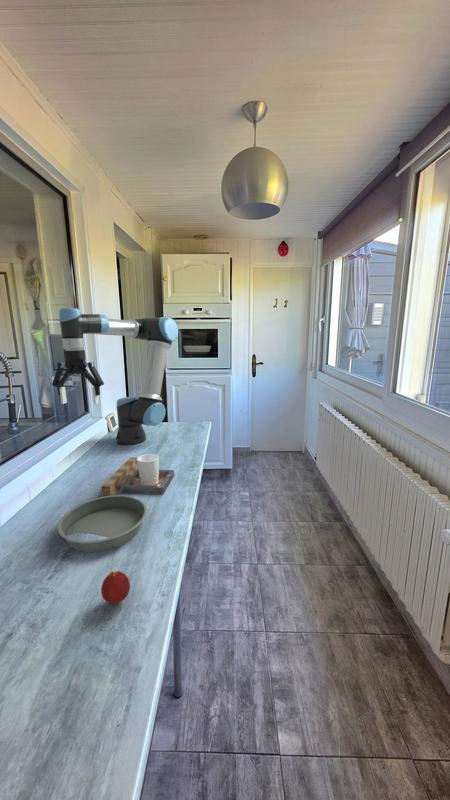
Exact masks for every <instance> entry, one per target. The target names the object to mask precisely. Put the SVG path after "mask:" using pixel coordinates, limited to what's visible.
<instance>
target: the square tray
mask: <svg viewBox="0 0 450 800" xmlns="http://www.w3.org/2000/svg"><path fill="white" fill-rule="evenodd" d="M174 477H175V469H159V482H158V483H157V484H156V485H153V486H151V485H141V483H140V477H139V471H138V469H137V470H136V471H135V473H134V474H133V475H132V476H131V477H130V478H129V480H128V481H127V482H126V483H125V484H124V485H123V487H122V493H124V494H127V493H128V494H145V495H146V494H149V495H151V494H153V495H164V494H165V492H166V491H167V489H168V487H169V486H170V485H171V482H172V481H173V479H174Z"/></svg>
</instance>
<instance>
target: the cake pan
mask: <svg viewBox="0 0 450 800" xmlns="http://www.w3.org/2000/svg"><path fill="white" fill-rule="evenodd" d="M147 514H148V508H147V506H146V504H145V503H144V502H143V501H142V500H141V499H139V498H136V497H133V496H130V495H120V494H116V495H113V496H105V497H102V496H100V497H97V498H92V499H89V500H87V501H85V502H81V503H80V504H77V505H76V506H74V507H73V508H71V509H70V510H68V511H67V512H65V514H64V515H63V516H62V517H61V518H60V520H59V521H58V523H57V524H58V525H57V532H58V534H59V536H61V538H63V539H64V540H65V541H66V543H67V544H68V546H69V547H70V548H71V549H74V550H76V551H78V552H79V551H80V552H84V553H86V552H87V553H96V552H103V551H109V550H111V549H115V548H118V547H120V546H122V545H125V544H126V543H128V542H130V541H131V540H133V539H134V538H135V537H136V536H137V535H138V534H139V533H140V532H141V529H142V527H143V522H144V520H145V518H146V517H147ZM74 534H81V535H82V534H83V535H93V536H99V537H103V538H101V539H95V540H79V539H74V538H71V537H69V536H70V535H74ZM104 537H105V538H104Z"/></svg>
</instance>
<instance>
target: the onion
mask: <svg viewBox="0 0 450 800" xmlns="http://www.w3.org/2000/svg"><path fill="white" fill-rule="evenodd" d="M130 589H131V583H130V580H129V577H128V576H127V575H126V574H125V573H124V572H123V571H118V570H112V571H111V572H110V573H109V574H107V576H106V577H105V578H104V579H103V582H102V585H101V589H100V591H101V596H102V599H103V600H104V601H105V602H106V603H107V604H112V605H113V604H115V605H118V604H120V603H121V602H123V601H124V600H125V599H126V598H127V597H128V595H129V592H130Z"/></svg>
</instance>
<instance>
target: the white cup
mask: <svg viewBox="0 0 450 800" xmlns="http://www.w3.org/2000/svg"><path fill="white" fill-rule="evenodd" d="M136 458H137V463H138V471H139V477H140V483H141V485H151V486H153V485H156V484H157V483H158V482H159V470H160V462H159V460H160V459H159V458H160V457H159V455H158V454H155V453H146V454H142V455H139V456H137V457H136Z"/></svg>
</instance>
